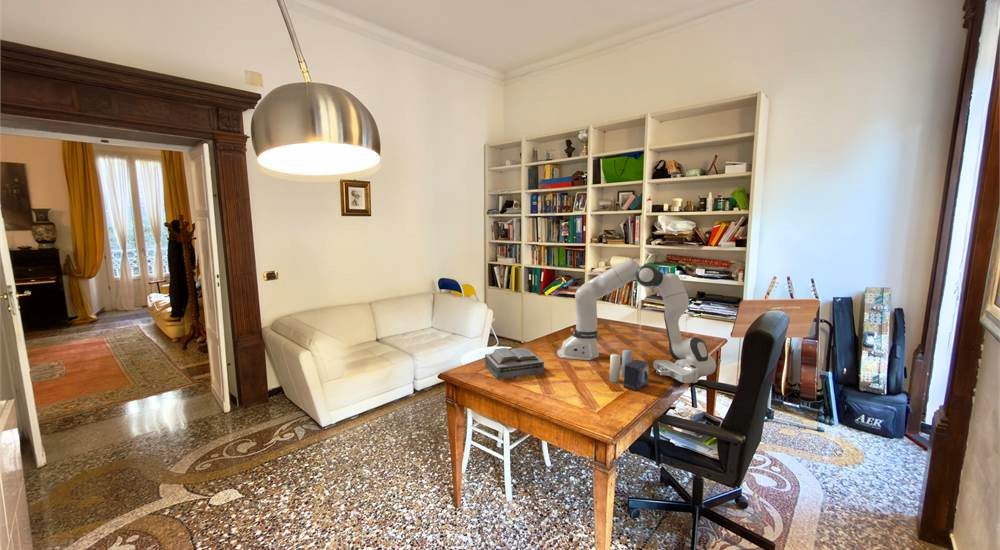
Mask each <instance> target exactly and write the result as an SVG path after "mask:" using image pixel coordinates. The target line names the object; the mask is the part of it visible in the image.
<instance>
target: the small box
mask: <svg viewBox="0 0 1000 550" xmlns="http://www.w3.org/2000/svg"><path fill="white" fill-rule="evenodd" d="M649 368H650V363H649V362H647V361H645V360H644V361H643V360H640V359H635V360H632V362H630V363H627V364H625V371H624V377H623V388H625V389H628V390H631V391H633V392H637V391H639V390H641V389H643V388H645V387H647V386H648V385H649V371H650V369H649Z"/></svg>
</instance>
